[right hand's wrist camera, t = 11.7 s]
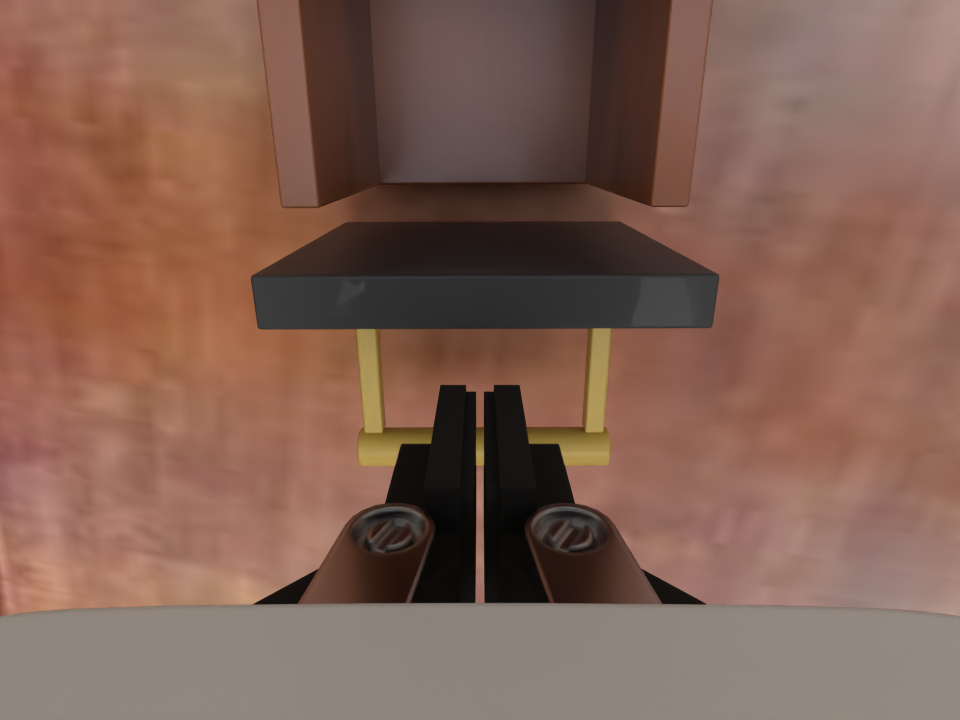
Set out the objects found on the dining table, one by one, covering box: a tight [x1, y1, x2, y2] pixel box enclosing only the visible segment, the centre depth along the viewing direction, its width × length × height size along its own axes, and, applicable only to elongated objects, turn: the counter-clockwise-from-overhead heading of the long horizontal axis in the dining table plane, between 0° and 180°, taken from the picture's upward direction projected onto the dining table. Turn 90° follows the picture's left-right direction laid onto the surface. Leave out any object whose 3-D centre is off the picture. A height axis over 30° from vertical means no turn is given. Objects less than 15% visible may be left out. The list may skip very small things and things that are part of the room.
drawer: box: [251, 0, 719, 466], centre depth 15 cm, size 22×10×9 cm, turn 0°
